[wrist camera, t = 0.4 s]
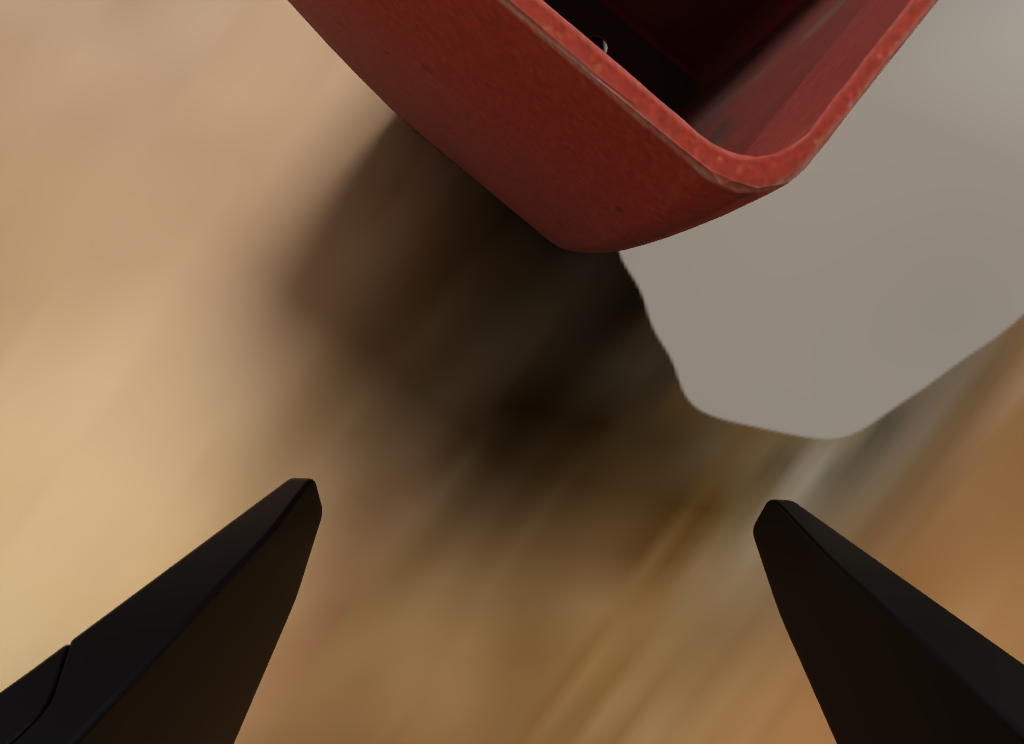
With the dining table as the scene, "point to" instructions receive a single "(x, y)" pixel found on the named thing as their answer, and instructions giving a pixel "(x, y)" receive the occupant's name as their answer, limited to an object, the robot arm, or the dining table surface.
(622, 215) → the plant pot
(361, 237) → the dining table surface
